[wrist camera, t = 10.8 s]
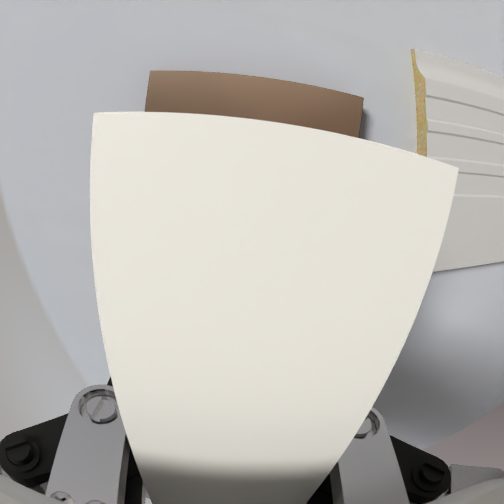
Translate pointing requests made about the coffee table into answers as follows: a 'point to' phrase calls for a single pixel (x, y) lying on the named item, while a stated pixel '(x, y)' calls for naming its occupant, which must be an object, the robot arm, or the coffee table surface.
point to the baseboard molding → (464, 153)
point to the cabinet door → (253, 293)
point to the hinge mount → (254, 100)
